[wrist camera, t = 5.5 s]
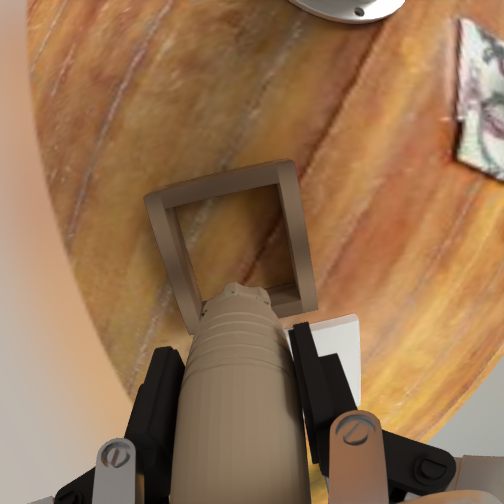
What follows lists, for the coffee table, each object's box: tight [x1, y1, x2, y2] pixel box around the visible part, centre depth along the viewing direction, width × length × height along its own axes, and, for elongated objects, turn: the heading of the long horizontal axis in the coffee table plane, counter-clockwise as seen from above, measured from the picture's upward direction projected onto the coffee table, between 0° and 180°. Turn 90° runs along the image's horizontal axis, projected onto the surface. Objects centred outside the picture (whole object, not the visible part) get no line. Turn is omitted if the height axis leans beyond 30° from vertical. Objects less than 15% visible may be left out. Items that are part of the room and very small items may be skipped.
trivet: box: [284, 313, 361, 418], centre depth 30 cm, size 12×12×1 cm
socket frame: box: [143, 158, 318, 335], centre depth 24 cm, size 11×10×3 cm
